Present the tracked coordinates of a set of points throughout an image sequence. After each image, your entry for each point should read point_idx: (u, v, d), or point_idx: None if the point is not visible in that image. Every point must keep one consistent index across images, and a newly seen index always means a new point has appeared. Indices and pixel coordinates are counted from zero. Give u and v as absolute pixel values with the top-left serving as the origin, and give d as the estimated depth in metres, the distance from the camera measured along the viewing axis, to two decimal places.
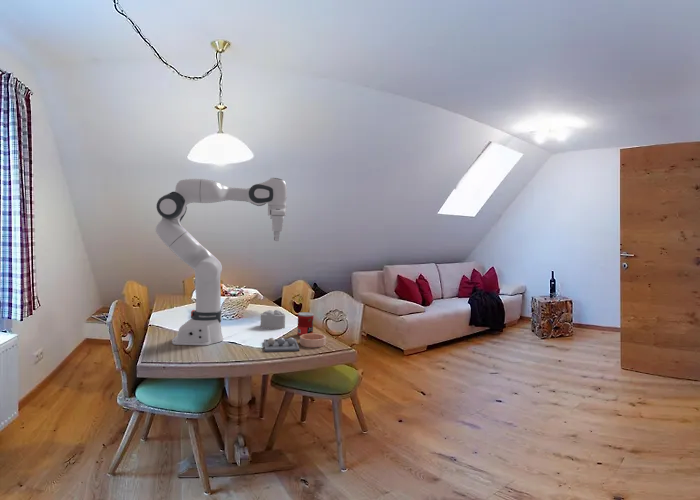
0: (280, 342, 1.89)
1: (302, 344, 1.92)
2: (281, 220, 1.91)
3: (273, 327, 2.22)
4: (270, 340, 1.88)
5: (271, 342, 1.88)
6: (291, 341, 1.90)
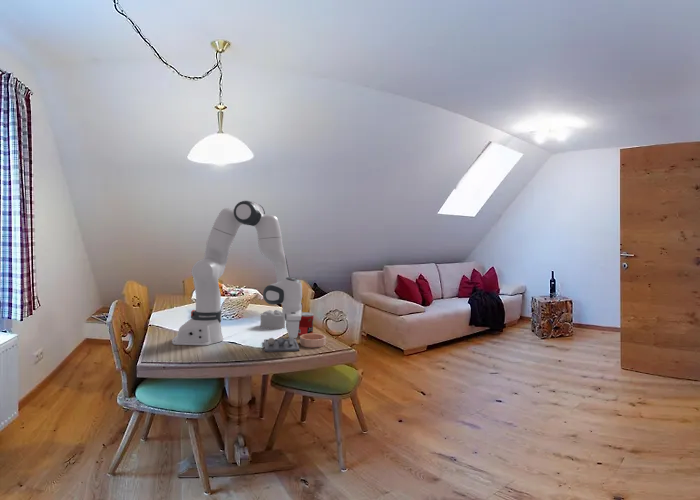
0: (280, 342, 1.89)
1: (302, 344, 1.92)
2: (297, 326, 1.82)
3: (273, 327, 2.22)
4: (270, 340, 1.88)
5: (271, 342, 1.88)
6: None
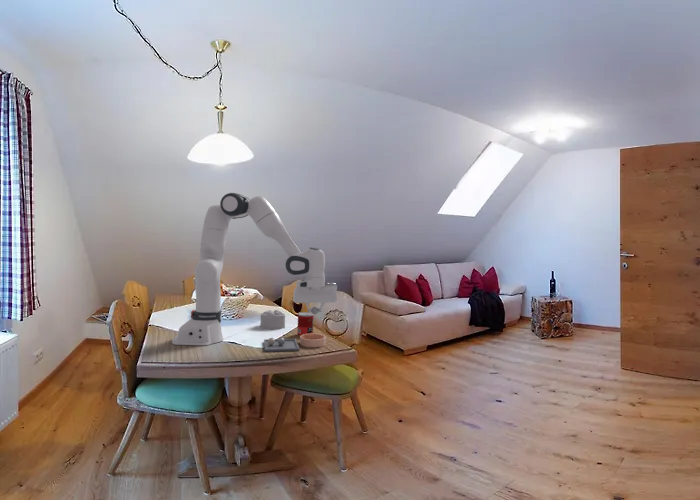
0: (280, 342, 1.89)
1: (302, 344, 1.92)
2: (294, 292, 1.89)
3: (273, 327, 2.22)
4: (270, 340, 1.88)
5: (271, 342, 1.88)
6: (311, 310, 1.93)
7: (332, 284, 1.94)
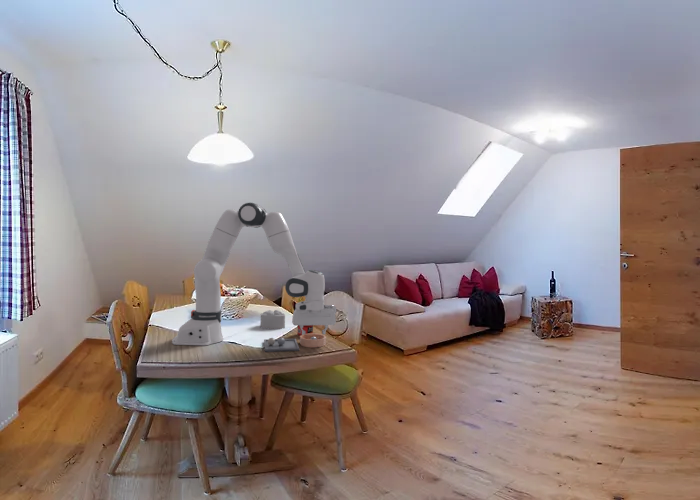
0: (280, 342, 1.89)
1: (302, 344, 1.92)
2: (294, 314, 1.90)
3: (273, 327, 2.22)
4: (270, 340, 1.88)
5: (271, 342, 1.88)
6: (310, 339, 1.94)
7: (331, 307, 1.95)
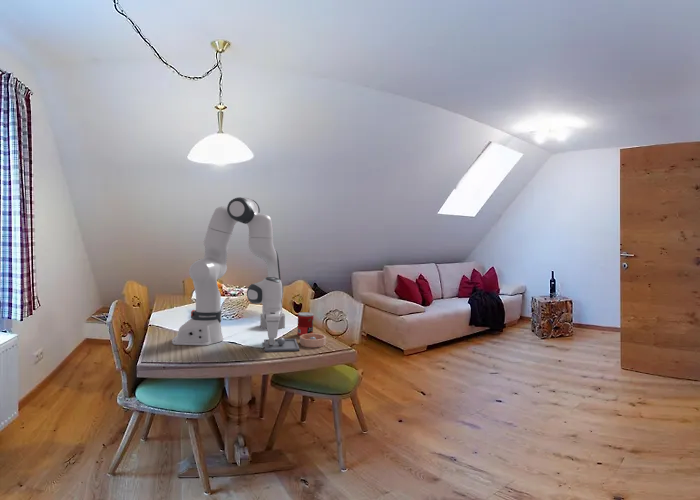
0: (280, 342, 1.89)
1: (302, 344, 1.92)
2: (276, 326, 1.80)
3: None
4: None
5: None
6: None
7: None
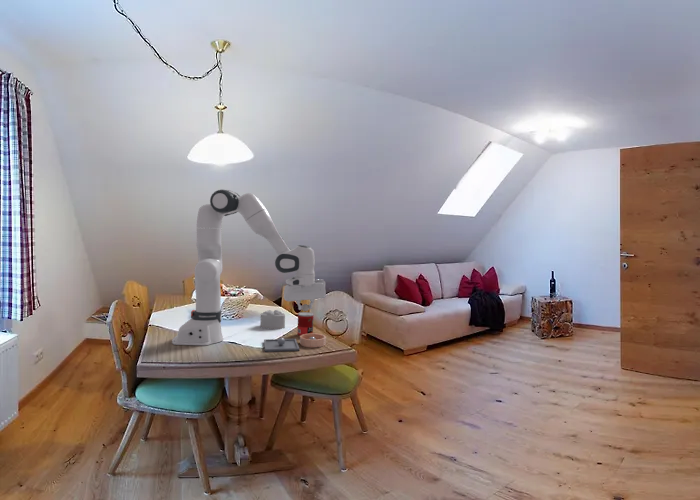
0: (280, 342, 1.89)
1: (302, 344, 1.92)
2: (286, 290, 1.88)
3: (273, 327, 2.22)
4: None
5: None
6: None
7: (321, 280, 1.98)
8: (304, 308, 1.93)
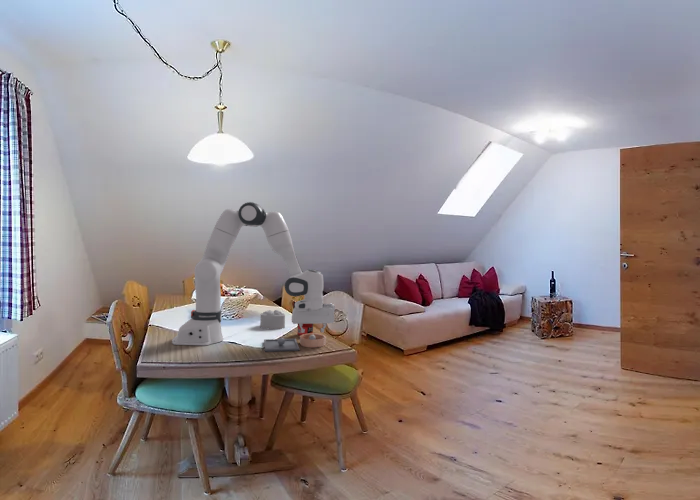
0: (280, 342, 1.89)
1: (302, 344, 1.92)
2: (293, 313, 1.93)
3: (273, 327, 2.22)
4: (309, 336, 1.98)
5: None
6: None
7: (330, 305, 1.98)
8: None
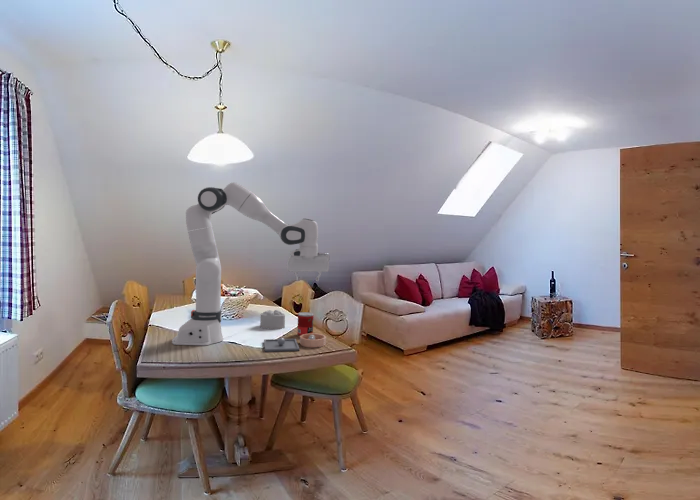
0: (280, 342, 1.89)
1: (302, 344, 1.92)
2: (288, 260, 1.97)
3: (273, 327, 2.22)
4: None
5: None
6: None
7: (325, 254, 2.02)
8: None
